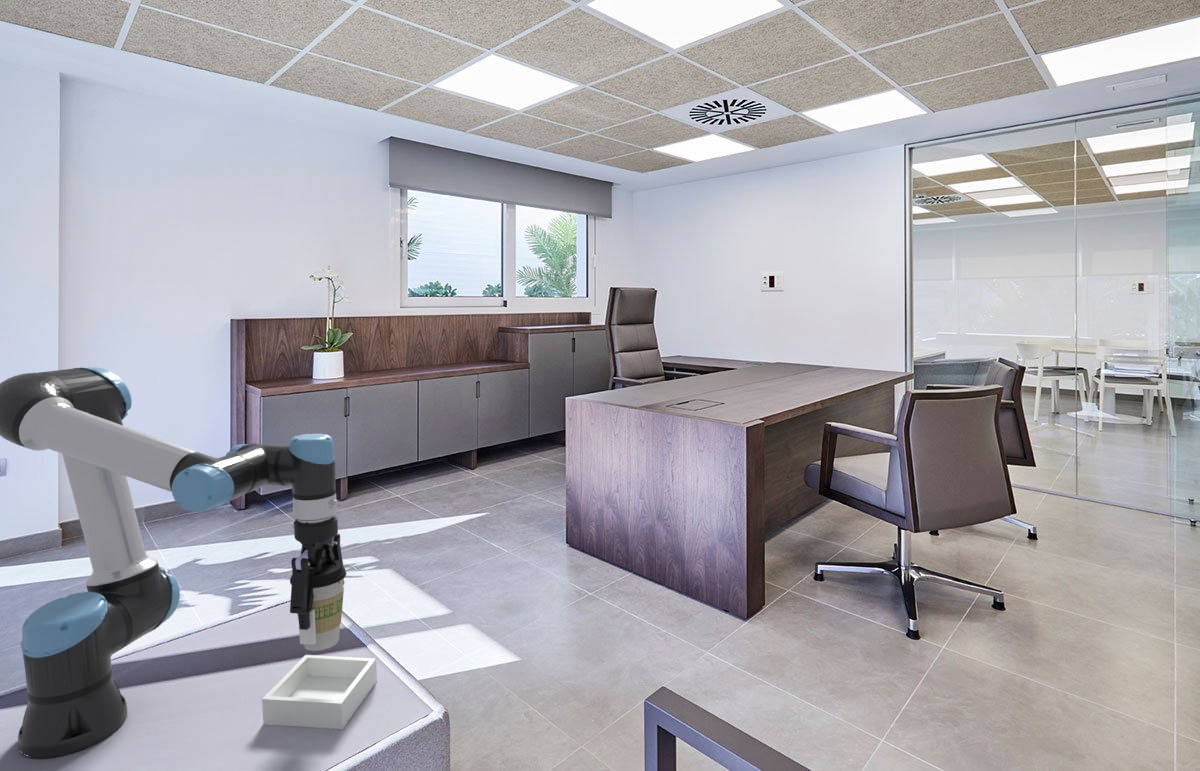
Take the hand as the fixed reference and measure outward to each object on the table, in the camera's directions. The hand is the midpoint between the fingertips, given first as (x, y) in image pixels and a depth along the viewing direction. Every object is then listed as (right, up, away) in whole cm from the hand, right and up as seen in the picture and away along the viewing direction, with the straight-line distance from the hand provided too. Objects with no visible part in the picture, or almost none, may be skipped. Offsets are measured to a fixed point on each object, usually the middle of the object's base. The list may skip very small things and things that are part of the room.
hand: (320, 630), depth 122 cm
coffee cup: (0, -3, 0) cm, 3 cm away
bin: (0, -15, +2) cm, 15 cm away
